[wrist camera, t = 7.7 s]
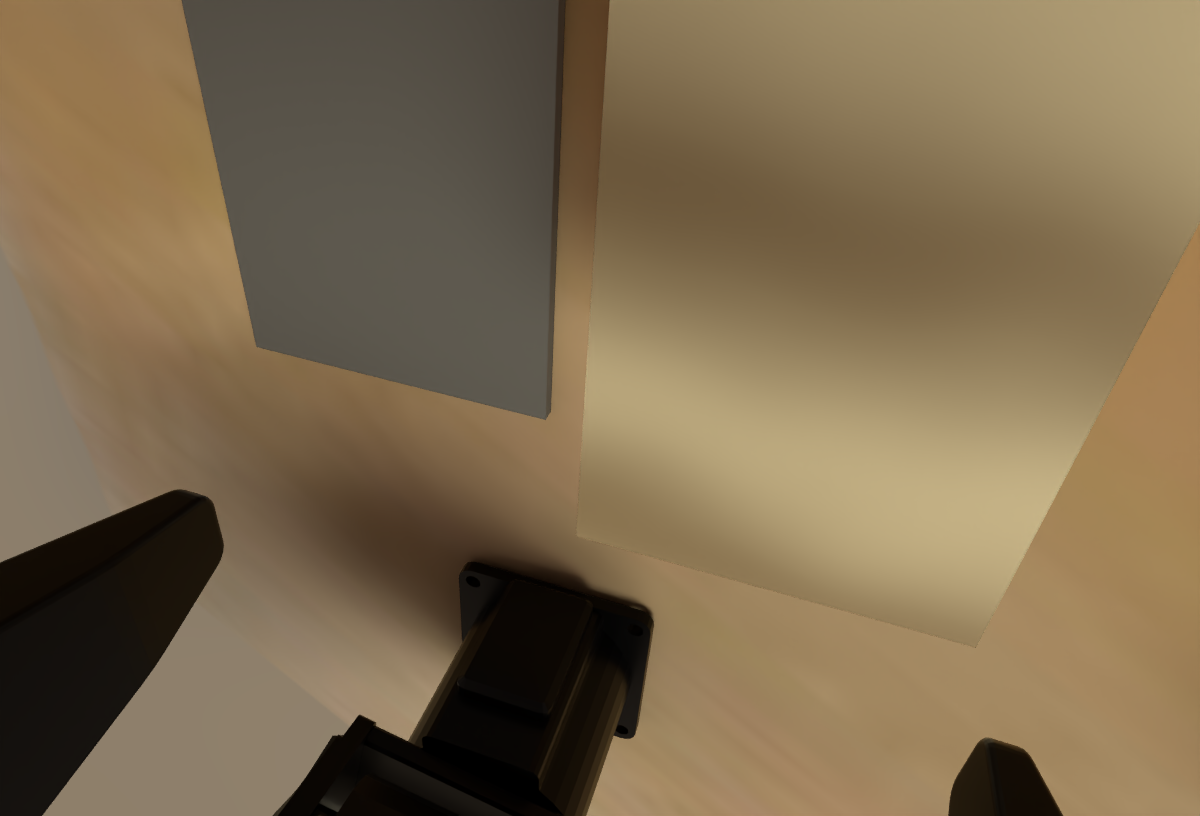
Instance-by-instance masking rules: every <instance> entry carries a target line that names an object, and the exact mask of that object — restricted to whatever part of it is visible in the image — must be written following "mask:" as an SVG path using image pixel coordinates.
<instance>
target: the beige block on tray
mask: <svg viewBox="0 0 1200 816" xmlns="http://www.w3.org/2000/svg"><path fill="white" fill-rule="evenodd" d="M1199 223H1200V0H610V4H609V20H608V36H607V52H606V68H605V83H604V99H603V115H602V131H601V147H600V162H599V178H598V194H597V210H596V226H595V241H594V257H593V273H592V289H591V305H590V321H589V336H588V352H587V368H586V384H585V400H584V415H583V431H582V447H581V463H580V479H579V494H578V510H577V526H576V536H577V537H580V538H584V539H588V540H591V541H595V542H598V543H602V544H606V545H609V546H613V547H616V548H620V549H624V550H627V551H631V552H634V553H638V554H641V555H645V556H649V557H652V558H656V559H659V560H663V561H667V562H670V563H674V564H677V565H681V566H685V567H688V568H692V569H695V570H699V571H702V572H706V573H710V574H713V575H717V576H720V577H724V578H728V579H731V580H735V581H738V582H742V583H746V584H749V585H753V586H756V587H760V588H763V589H767V590H771V591H774V592H778V593H781V594H785V595H789V596H792V597H796V598H799V599H803V600H807V601H810V602H814V603H817V604H821V605H824V606H828V607H832V608H835V609H839V610H842V611H846V612H850V613H853V614H857V615H860V616H864V617H868V618H871V619H875V620H878V621H882V622H885V623H889V624H893V625H896V626H900V627H903V628H907V629H911V630H914V631H918V632H921V633H925V634H928V635H932V636H936V637H939V638H943V639H946V640H950V641H954V642H957V643H961V644H964V645H968V646H972V647H975V648H976V646H977V645H978V643H979V641H980V639H981V637H982V635H983V633H984V631H985V629H986V627H987V626H988V624H989V622H990V620H991V618H992V616H993V614H994V612H995V610H996V608H997V607H998V605H999V603H1000V601H1001V599H1002V597H1003V595H1004V593H1005V591H1006V589H1007V588H1008V586H1009V584H1010V582H1011V580H1012V578H1013V576H1014V574H1015V572H1016V570H1017V569H1018V567H1019V565H1020V563H1021V561H1022V559H1023V557H1024V555H1025V553H1026V551H1027V550H1028V548H1029V546H1030V544H1031V542H1032V540H1033V538H1034V536H1035V534H1036V532H1037V531H1038V529H1039V527H1040V525H1041V523H1042V521H1043V519H1044V517H1045V515H1046V513H1047V512H1048V510H1049V508H1050V506H1051V504H1052V502H1053V500H1054V498H1055V496H1056V494H1057V493H1058V491H1059V489H1060V487H1061V485H1062V483H1063V481H1064V479H1065V477H1066V476H1067V474H1068V472H1069V470H1070V468H1071V466H1072V464H1073V462H1074V460H1075V458H1076V457H1077V455H1078V453H1079V451H1080V449H1081V447H1082V445H1083V443H1084V441H1085V439H1086V438H1087V436H1088V434H1089V432H1090V430H1091V428H1092V426H1093V424H1094V422H1095V420H1096V419H1097V417H1098V415H1099V413H1100V411H1101V409H1102V407H1103V405H1104V403H1105V401H1106V400H1107V398H1108V396H1109V394H1110V392H1111V390H1112V388H1113V386H1114V384H1115V382H1116V381H1117V379H1118V377H1119V375H1120V373H1121V371H1122V369H1123V367H1124V365H1125V363H1126V362H1127V360H1128V358H1129V356H1130V354H1131V352H1132V350H1133V348H1134V346H1135V344H1136V343H1137V341H1138V339H1139V337H1140V335H1141V333H1142V331H1143V329H1144V327H1145V325H1146V324H1147V322H1148V320H1149V318H1150V316H1151V314H1152V312H1153V310H1154V308H1155V307H1156V305H1157V303H1158V301H1159V299H1160V297H1161V295H1162V293H1163V291H1164V289H1165V288H1166V286H1167V284H1168V282H1169V280H1170V278H1171V276H1172V274H1173V272H1174V270H1175V269H1176V267H1177V265H1178V263H1179V261H1180V259H1181V257H1182V255H1183V253H1184V251H1185V250H1186V248H1187V246H1188V244H1189V242H1190V240H1191V238H1192V236H1193V234H1194V232H1195V231H1196V229H1197V227H1198V225H1199Z"/></svg>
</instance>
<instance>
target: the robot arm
mask: <svg viewBox="0 0 1200 816" xmlns="http://www.w3.org/2000/svg"><path fill="white" fill-rule="evenodd" d="M223 548H224V543H223V538H222V534H221V531H220V527H219V523H218V519H217V515H216V511H215V507H214V504H213V502H212V501H211V500H210V499H209V498H208V497H206V496H203V495H200V494H197V493H194V492H190V491H187V490H182V489H178V490H173V491H170V492H167V493H165V494H163V495H160V496H158V497H155V498H153V499H151V500H148V501H146V502H143V503H141V504H139V505H136V506H134V507H132V508H129V509H127V510H124V511H122V512H120V513H117V514H115V515H112V516H110V517H108V518H105V519H103V520H101V521H98V522H96V523H93V524H91V525H89V526H86V527H84V528H81V529H79V530H77V531H74V532H72V533H69V534H67V535H65V536H62V537H60V538H58V539H55V540H53V541H51V542H48V543H46V544H43V545H41V546H38V547H36V548H34V549H31V550H29V551H26V552H24V553H22V554H19V555H17V556H15V557H12V558H10V559H7V560H5V561H3V562H1V563H0V816H42V815H43V814H44V813H45V811H46V810H47V809H48V807H49V806H50V805H51V803H52V802H53V801H54V799H55V798H56V797H57V795H58V794H59V793H60V792H61V790H62V789H63V788H64V786H65V785H66V784H67V782H68V781H69V780H70V778H71V777H72V776H73V774H74V773H75V772H76V771H77V769H78V768H79V767H80V765H81V764H82V763H83V761H84V760H85V759H86V757H87V756H88V755H89V754H90V752H91V751H92V750H93V748H94V747H95V746H96V744H97V742H99V740H100V739H101V738H102V736H103V735H104V734H105V732H106V731H107V730H108V729H109V727H110V726H111V725H112V723H113V722H114V721H115V719H116V718H117V717H118V715H119V714H120V713H121V712H122V710H123V709H124V708H125V706H126V705H127V704H128V702H129V701H130V700H131V698H132V697H133V696H134V694H135V693H136V692H137V691H138V689H139V688H140V687H141V685H142V684H143V682H144V681H145V679H146V678H147V677H148V676H149V674H150V673H151V671H152V670H153V668H154V667H155V666H156V664H157V663H158V661H159V659H160V658H161V657H162V655H163V653H164V652H165V650H166V648H167V647H168V645H169V644H170V642H171V641H172V639H173V637H174V636H175V634H176V632H177V631H178V629H179V628H180V626H181V624H182V623H183V621H184V620H185V618H186V616H187V615H188V613H189V611H190V610H191V608H192V607H193V605H194V603H195V602H196V600H197V598H198V597H199V595H200V594H201V592H202V590H203V589H204V587H205V585H206V584H207V582H208V581H209V579H210V577H211V576H212V574H213V572H214V571H215V569H216V568H217V566H218V564H219V562H220V560H221V557H222V554H223ZM459 586H460V604H461V623H462V641H463V643H462V645H461V646H460V648H459V650H458V652H457V654H456V655H455V657H454V659H453V661H452V663H451V664H450V666H449V668H448V670H447V672H446V674H445V675H444V677H443V679H442V681H441V683H440V684H439V686H438V688H437V690H436V692H435V693H434V695H433V697H432V699H431V701H430V702H429V704H428V706H427V708H426V710H425V711H424V713H423V715H422V717H421V719H420V721H419V722H418V724H417V726H416V728H415V730H414V731H413V733H412V735H411V737H410V739H409V740H408V741H406V740H404V739H402V738H400V737H398V736H396V735H394V734H392V733H389V732H387V731H385V730H383V729H381V728H379V727H377V726H376V722H374V721H372V720H370V719H368V718H366V717H364V716H362V715H359V716H358V717H357V718H356V719H355V721H354V722H353V723H352V725H351V726H350V727H349V729H348V730H347V732H346V733H345V734H344V735H338V736H332V738H331V739H330V741H329V742H328V744H327V745H326V747H325V749H324V750H323V752H322V753H321V755H320V756H319V758H318V760H317V761H316V763H315V764H314V766H313V767H312V769H311V770H310V772H309V773H308V775H307V776H306V778H305V779H304V781H303V782H302V783H301V785H300V786H299V787H298V789H297V790H296V791H295V792H294V793H293V794H292V796H291V797H290V798H289V799H288V800H287V801H286V802H285V803H284V804H283V805H282V806H281V807H280V808H279V809H278V810H277V811H276V812H275V814H274V815H273V816H586V815H587V812H588V809H589V806H590V803H591V800H592V797H593V794H594V791H595V788H596V785H597V783H598V780H599V777H600V774H601V771H602V768H603V765H604V762H605V759H606V756H607V753H608V750H609V747H610V744H611V742H612V739H613V736H617V737H620V738H624V739H630V738H632V737H634V735H635V733H636V730H637V727H638V723H639V716H640V710H641V704H642V698H643V691H644V685H645V679H646V672H647V666H648V660H649V653H650V647H651V641H652V635H653V628H654V621H653V619H652V618H651V616H649V615H648V614H647V613H645V612H643V611H641V610H637V609H634V608H631V607H627V606H624V605H620V604H617V603H614V602H610V601H607V600H603V599H600V598H597V597H593V596H590V595H586V594H583V593H580V592H576V591H573V590H569V589H566V588H563V587H559V586H556V585H552V584H549V583H546V582H542V581H539V580H535V579H532V578H529V577H525V576H522V575H518V574H515V573H512V572H508V571H505V570H501V569H498V568H495V567H491V566H488V565H484V564H481V563H477V562H469V563H467V564H466V565H465V566H464V568H463V570H462V571H461V573H460V575H459ZM948 816H1063V815H1062V813H1061V811H1060V809H1059V807H1058V805H1057V804H1056V802H1055V800H1054V798H1053V796H1052V794H1051V793H1050V791H1049V789H1048V787H1047V785H1046V783H1045V782H1044V780H1043V778H1042V776H1041V774H1040V772H1039V771H1038V769H1037V767H1036V765H1035V763H1034V762H1033V760H1032V758H1031V757H1030V755H1029V754H1028V753H1027V752H1026V751H1025V750H1024V749H1022V748H1020V747H1018V746H1015V745H1011V744H1008V743H1005V742H1002V741H998V740H995V739H992V738H983V739H982V740H980V741H979V742H978V743H977V745H976V746H975V748H974V750H973V751H972V753H971V755H970V756H969V758H968V759H967V761H966V763H965V764H964V766H963V767H962V769H961V771H960V772H959V774H958V776H957V777H956V779H955V781H954V784H953V787H952V791H951V796H950V803H949V814H948Z"/></svg>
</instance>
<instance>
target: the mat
mask: <svg viewBox="0 0 1200 816" xmlns="http://www.w3.org/2000/svg"><path fill="white" fill-rule="evenodd" d="M182 4H183V9H184V13H185V18H186V23H187V27H188V32H189V37H190V41H191V46H192V50H193V55H194V60H195V64H196V69H197V74H198V78H199V83H200V87H201V92H202V97H203V101H204V106H205V111H206V115H207V120H208V124H209V129H210V134H211V138H212V143H213V148H214V152H215V157H216V162H217V166H218V171H219V175H220V180H221V185H222V189H223V194H224V199H225V203H226V208H227V212H228V217H229V222H230V226H231V231H232V236H233V240H234V245H235V249H236V254H237V259H238V263H239V268H240V273H241V277H242V282H243V287H244V291H245V296H246V300H247V305H248V310H249V314H250V319H251V324H252V328H253V333H254V337H255V342H256V347H259V348H263V349H267V350H271V351H275V352H279V353H283V354H287V355H291V356H295V357H299V358H303V359H307V360H311V361H315V362H318V363H322V364H326V365H330V366H334V367H338V368H342V369H346V370H350V371H354V372H358V373H362V374H366V375H370V376H374V377H378V378H382V379H386V380H390V381H394V382H398V383H402V384H406V385H410V386H414V387H418V388H422V389H426V390H429V391H433V392H437V393H441V394H445V395H449V396H453V397H457V398H461V399H465V400H469V401H473V402H477V403H481V404H485V405H489V406H493V407H497V408H501V409H505V410H509V411H513V412H517V413H521V414H525V415H529V416H533V417H537V418H541V419H544V420H546V418H547V417H548V415H549V413H550V412H551V391H552V363H553V335H554V307H555V279H556V251H557V223H558V194H559V166H560V138H561V110H562V82H563V54H564V26H565V0H182Z"/></svg>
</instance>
